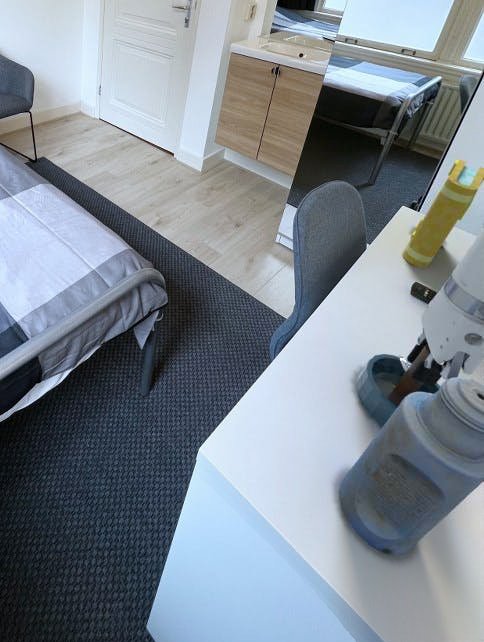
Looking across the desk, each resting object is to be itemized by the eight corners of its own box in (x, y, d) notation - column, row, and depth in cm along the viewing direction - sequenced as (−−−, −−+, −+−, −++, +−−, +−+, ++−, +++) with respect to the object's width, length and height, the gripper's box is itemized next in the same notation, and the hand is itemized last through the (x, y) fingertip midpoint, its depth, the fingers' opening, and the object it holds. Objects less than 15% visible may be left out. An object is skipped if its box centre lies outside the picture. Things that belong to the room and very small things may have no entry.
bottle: (323, 504, 62) (416, 383, 48) (354, 461, 68) (446, 342, 53) (392, 578, 56) (524, 465, 41) (421, 525, 61) (546, 408, 47)
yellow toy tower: (414, 231, 123) (457, 158, 111) (441, 244, 118) (489, 170, 106) (398, 257, 112) (443, 179, 100) (427, 272, 108) (479, 193, 96)
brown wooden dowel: (401, 400, 76) (441, 348, 69) (404, 414, 74) (446, 361, 67) (385, 394, 77) (423, 341, 70) (387, 407, 75) (427, 354, 68)
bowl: (425, 391, 79) (440, 372, 76) (443, 460, 69) (462, 441, 66) (351, 362, 83) (363, 343, 80) (358, 423, 73) (372, 404, 70)
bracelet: (403, 409, 76) (424, 383, 72) (383, 399, 77) (402, 372, 73) (402, 378, 81) (421, 352, 77) (383, 369, 82) (401, 343, 79)
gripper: (533, 352, 54) (460, 429, 63) (487, 270, 68) (432, 343, 77) (464, 328, 57) (403, 406, 66) (432, 253, 70) (385, 326, 79)
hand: (419, 371), depth 71 cm, fingers closed on brown wooden dowel, 2 cm apart
